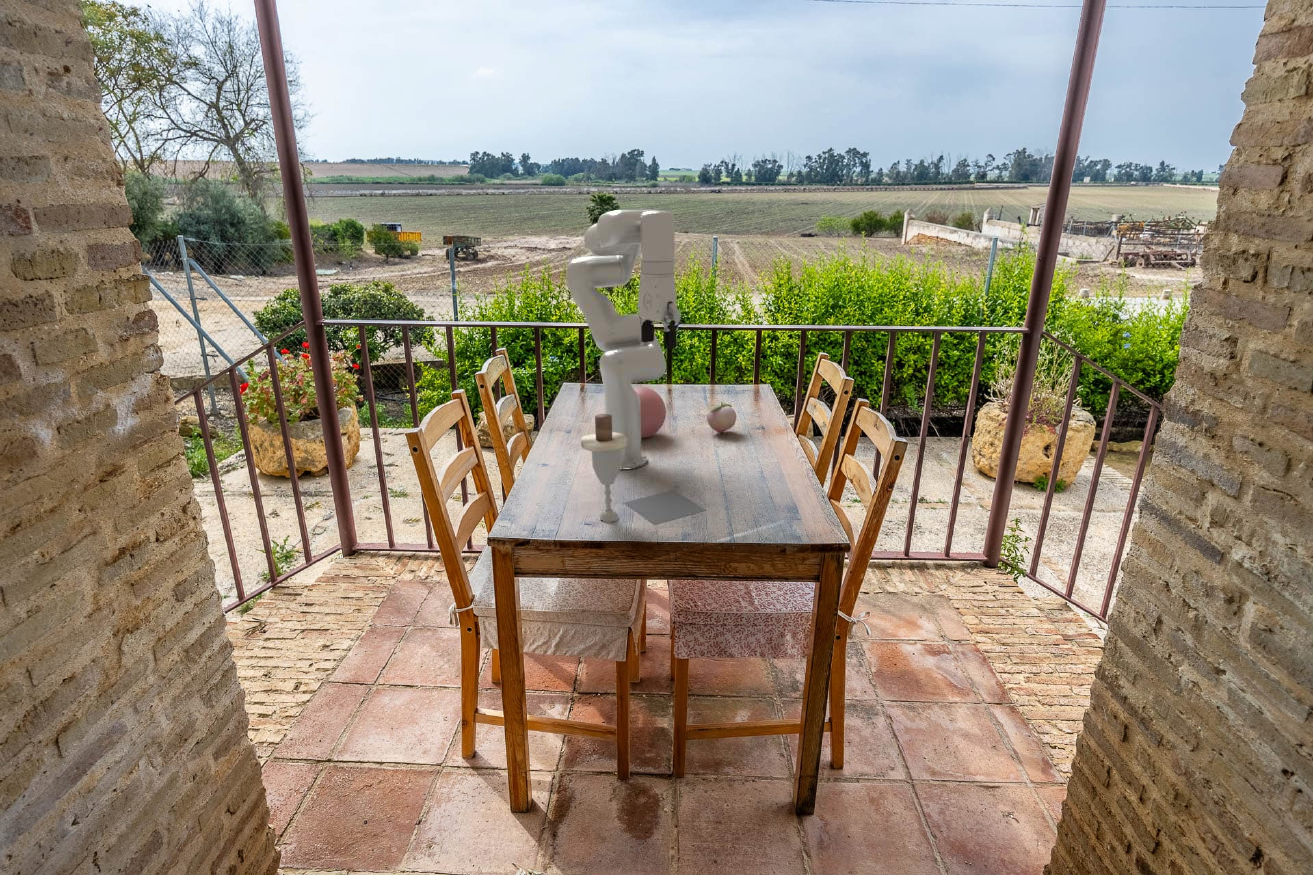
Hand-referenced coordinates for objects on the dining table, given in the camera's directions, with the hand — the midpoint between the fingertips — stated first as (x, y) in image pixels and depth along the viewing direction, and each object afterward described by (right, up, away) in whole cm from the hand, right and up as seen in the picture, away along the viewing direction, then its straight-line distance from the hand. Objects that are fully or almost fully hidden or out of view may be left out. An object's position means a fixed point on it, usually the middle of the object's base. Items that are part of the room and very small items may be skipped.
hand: (658, 344), depth 161 cm
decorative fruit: (+20, -20, +53) cm, 60 cm away
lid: (-12, -23, -10) cm, 28 cm away
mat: (+1, -38, +1) cm, 38 cm away
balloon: (-5, -21, +53) cm, 57 cm away
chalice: (-11, -40, -4) cm, 42 cm away
